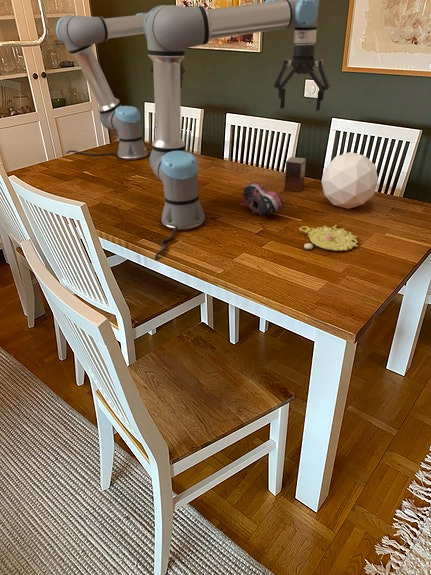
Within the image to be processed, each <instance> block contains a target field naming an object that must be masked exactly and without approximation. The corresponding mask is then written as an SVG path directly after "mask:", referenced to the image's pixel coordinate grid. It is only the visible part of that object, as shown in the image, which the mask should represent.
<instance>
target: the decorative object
mask: <svg viewBox="0 0 431 575" xmlns="http://www.w3.org/2000/svg"><path fill="white" fill-rule="evenodd" d="M303 228H304V229H305V230H304V229H303ZM299 231H300V232H303V233H305V234H307V237H308V238H309V240H310V241H311V243H304V244H303V248H304V249H305V250H313V249H314V245H315V246H316V247H318V248H321V249H324V250H328V251H335V252H341V251H348V250H352V249H354V247H356V248H358V247H359V245H358V244H357V243H359V240H357V238H359V237H358V235H353V234H352V231H347V230H346V229H345V228H344V227H342V228H338V224H335V225H333V226H331V227H328V226H327V225H326V224H325V225H323V226H322V227H321V226H317V227H316V228H314V227H309V226H308V225H302V226H300V227H299ZM313 244H314V245H313Z"/></svg>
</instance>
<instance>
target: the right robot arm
mask: <svg viewBox="0 0 431 575" xmlns="http://www.w3.org/2000/svg"><path fill="white" fill-rule="evenodd" d="M319 8H320V0H264V2H255V3H247V4H240V5H231V6H224V7H215V8H208V9H207V8H206V7H205V6H204V5H199V6H183V5H177V4H170V5H168V4H167V5H166V4H159V5H156V6H154V7H153V8H151V9H150V10H149V12H147V13H148V14H147V16H146V18H145V20H144V34H143V35H144V37H145V39H146V41H147V56H148V57H149V58H150V59H151V61H152V64H153V71H154V73H153V94H154V95H153V96H154V120H155V121H154V122H155V139H154V140H153V141H152V142H151V153H150V156H149V165H150V169H151V171H152V172H153V174H154V175H155V176H156V177H157V178H158V180H159V181H160V182H162V185H163V194H164V204H163V209H162V213H161V219H160V220H161V225H162V227H163V228H165V229H167V230H170V231H172V232H171V234H170V236H169V237H168V238H164V239H162V240H161V241H160V246H162V247H163V248H161V249H160V250H159V251H157V252H156V254H155V256H154V261H158V257H159V256H160V254H162V253H164V252H165V251H167V248H168V247H167V245H166V244H165V243H166V242H169V241H171V240H172V239H173V238H174V235H175V234H176V231H177V232H185V231H186V232H187V231H192V230H195V229H198V228H201V227H202V226H203V225H204V224H205V223H206V217H205V212H204V210H203V208H202V204H201V202H200V196H199V175H198V169H199V166H198V162H197V158H196V156H195V155H194V154H192V152H189V151H186V143H185V141H183V140H182V133H181V132H182V127H181V126H182V124H181V123H182V120H181V116H182V115H181V113H182V112H181V110H182V109H181V88H180V62H182V60H183V59H184V58H185V56H186V50H187V49H190V48H194V47H198V46H203V45H204V46H205V45H208V44H209V43H210V41H211V40H217V39H223V38H224V39H225V38H230V37H231V38H232V37H238V36H244V35H250V34H255V33H256V34H257V33H264V32H270V31H277V30H278V31H279V30H284V29H293V28H294V31H293V32H294V34H293V44H294V45H293V48H292V60H291V59H289V58H285V59H284V60H283V65H282V67H281V70H280V72H279V74H278V76H277V78H276V80H275V82H274V84H273V88H277V89H278V97H277V98H278V99H280V106H279V107H280V109H282V110H283V109H284V108H285V106H286V105H285V103H286V88H285V87H286V86H287V84H288V83H289V82H290V80H291V79H292V78H293V77H294V75H295V74H297V75H301V74H302V75H307V74H308V75H309V77H311V79H312V81H313V82H314V83H315V85H316V86H317V88H318V89H319V90H317V96H316V97H317V98H316V108H315V111H317V112H318V111H320V110H321V102H322V101H324V99H325V91H327V90H329V89H330V88H331V84H330V81H329V79H328V76H327V73H326V70H325V67H324V59H318V60H316V59H315V56H316V44H315V43H316V42H317V31H318V20H319ZM290 66H292V69H291V71H290V72H289V73H288V75H287V76H286V77H285V78H284V76H285V75H286V72H287V70H288V68H289V67H290ZM315 66H316V67H317V68H318V71H319V74H320V77H321V79H320V78H319V76H318V75H317V73H316V71H315V70H314V67H315ZM283 78H284V80H283ZM282 80H283V81H282ZM321 80H322V81H321Z"/></svg>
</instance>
